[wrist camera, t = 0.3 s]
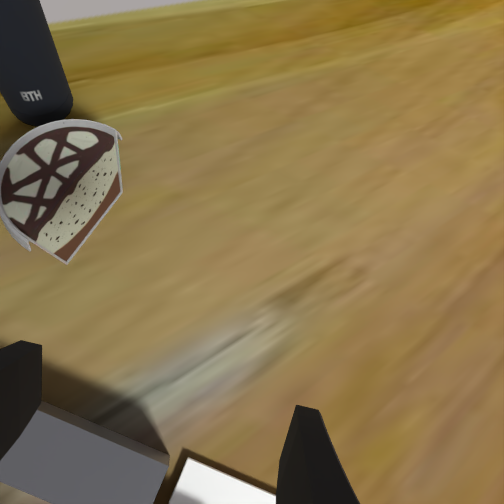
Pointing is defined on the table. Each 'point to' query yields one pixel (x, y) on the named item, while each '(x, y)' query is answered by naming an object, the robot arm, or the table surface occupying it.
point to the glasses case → (81, 462)
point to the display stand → (215, 487)
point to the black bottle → (31, 65)
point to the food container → (60, 184)
